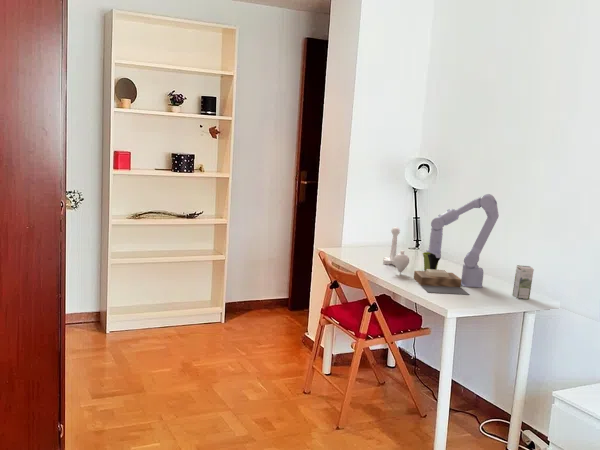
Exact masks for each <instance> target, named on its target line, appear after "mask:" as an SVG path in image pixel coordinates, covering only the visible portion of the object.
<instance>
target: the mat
mask: <svg viewBox="0 0 600 450" xmlns="http://www.w3.org/2000/svg"><path fill="white" fill-rule="evenodd" d="M420 287H421V288H423V290H424V291H426V292H427V294H428V293H429V294H444V295H445V294H448V295H463V296H464V295H465V296H469V295H470V294H469V293H468V292H467V290H465V289H464V288H462V287H448V286H429V285H420Z"/></svg>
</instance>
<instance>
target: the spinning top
mask: <svg viewBox="0 0 600 450" xmlns="http://www.w3.org/2000/svg"><path fill="white" fill-rule="evenodd" d="M394 263H395V267H396V269H397V271H398V273H399V275H401V273H403V271H404V270H406V268H407V267H408V265H409V264H410V257H409V256H408V254H406V253H405V250H400V252H399V253H396V256H395V257H394Z"/></svg>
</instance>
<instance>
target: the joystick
mask: <svg viewBox="0 0 600 450" xmlns="http://www.w3.org/2000/svg"><path fill="white" fill-rule="evenodd" d="M390 231H391V232H390V233H391V234H392V241H391V246H390V247H391V249H390V255H389V257H383V260H382V263H383V264H384V265H386V264H387V266H389V265H393V266H395V263H394V257H395V256H396V255H397V248H398V247H397V245H398V237H399V235H400V233H401V230H400V228H399V227H398V226H393V227H392V228H391V230H390ZM395 267H396V266H395Z"/></svg>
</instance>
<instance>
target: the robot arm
mask: <svg viewBox="0 0 600 450" xmlns="http://www.w3.org/2000/svg"><path fill="white" fill-rule="evenodd" d="M497 202H498V201H497V200H496V198H495V196H493V194H490V193H487V194H484V195H482V196H479V197H477V198H474V199H472V200H471V201H469V202H466V203H465V204H464V205H462V206H460V207H459V208H456V209H455V208H451V209H450V208H449V209H447V210H446V212H443V213H442V214H438V216H436V217H434V218H433V219H432V220H431V222H430V226H431V228H430V235H429V245H428V249H426V251H425V252H429V253H431V254H428V258H429V263H430V269H434V270H435V269H436V266H437V267H438V265H437V263H438V264H439V261H440V260H441V258H442V251H441V250H442V244H443V236H444V235H443V230H444V227H445V226H449V225H450V224H452V223H454V222H456V221H457V220H459V218H460V216H461V215H462V214H464V213H467V212H469V211H470V210H473V209H481V208H482V209H483V210H484V212H485V214H486V216H487V217H486V220H485V221H484V224H483V225H482V227H481V230H480V232H479V234H478V235H477V238H476V239H475V241H474V244H473V246H472V247H471V250H469V252H467V254H466V255H465V257H464V260H463V263H464V264H463V265H462V271H461V278H460V279H462V280H461V286H462V287H466V288H483V280H484V269H483V267H479V265H478V264H479V263H478V262H479V261H480V254H481V252H482V250H483V249H484V246H485V245H486V243H487V241H488V239H489V237H490V235H491V233H492V231H493V229H494V227H495V225H496V223H497V221H498V219H499V209H498V203H497Z"/></svg>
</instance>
